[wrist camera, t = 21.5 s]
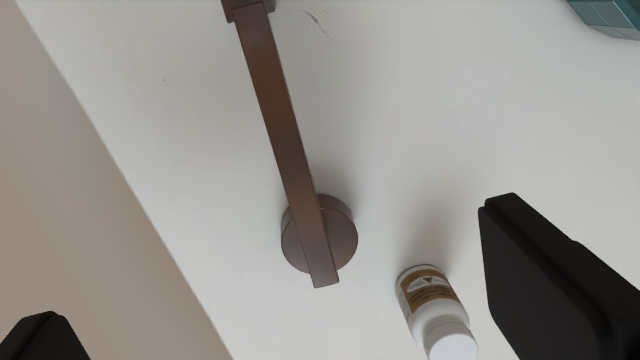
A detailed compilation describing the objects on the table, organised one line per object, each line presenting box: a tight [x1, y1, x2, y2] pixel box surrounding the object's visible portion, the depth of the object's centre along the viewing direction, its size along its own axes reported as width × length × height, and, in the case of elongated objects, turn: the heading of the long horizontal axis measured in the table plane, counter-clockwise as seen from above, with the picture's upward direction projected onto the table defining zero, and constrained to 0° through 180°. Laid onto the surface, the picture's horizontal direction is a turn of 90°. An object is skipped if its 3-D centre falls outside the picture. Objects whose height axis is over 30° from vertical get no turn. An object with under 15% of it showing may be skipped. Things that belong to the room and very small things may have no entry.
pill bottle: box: [396, 265, 478, 360], centre depth 34 cm, size 4×4×8 cm
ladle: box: [221, 0, 358, 288], centre depth 28 cm, size 20×6×8 cm, turn 14°
